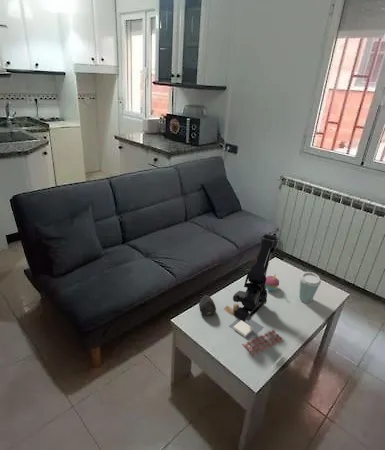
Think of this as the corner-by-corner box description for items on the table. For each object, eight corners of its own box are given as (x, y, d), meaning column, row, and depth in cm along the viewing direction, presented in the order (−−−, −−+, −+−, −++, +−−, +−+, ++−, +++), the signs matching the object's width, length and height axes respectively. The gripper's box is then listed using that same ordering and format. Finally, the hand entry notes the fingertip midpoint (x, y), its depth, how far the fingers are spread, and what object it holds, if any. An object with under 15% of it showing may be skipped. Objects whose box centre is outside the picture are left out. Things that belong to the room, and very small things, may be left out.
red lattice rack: (240, 346, 137) (241, 343, 136) (272, 331, 146) (272, 328, 145) (251, 358, 132) (251, 355, 131) (283, 342, 141) (284, 339, 140)
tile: (241, 320, 148) (233, 326, 144) (253, 328, 144) (245, 334, 140) (240, 322, 149) (233, 328, 145) (252, 330, 145) (245, 337, 141)
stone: (212, 315, 156) (213, 295, 158) (218, 317, 149) (219, 296, 151) (197, 315, 154) (198, 294, 155) (202, 316, 146) (204, 295, 148)
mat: (243, 314, 155) (243, 313, 154) (263, 328, 147) (263, 327, 147) (228, 327, 147) (228, 326, 146) (249, 341, 139) (249, 340, 139)
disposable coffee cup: (315, 308, 162) (322, 285, 155) (294, 302, 165) (300, 280, 158) (314, 295, 171) (321, 273, 164) (294, 290, 174) (300, 269, 167)
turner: (227, 306, 159) (228, 297, 157) (239, 314, 155) (240, 304, 152) (222, 310, 157) (223, 300, 154) (234, 318, 152) (236, 308, 150)
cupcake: (280, 291, 173) (285, 273, 167) (268, 294, 170) (271, 276, 164) (272, 282, 180) (275, 265, 174) (259, 284, 177) (263, 267, 171)
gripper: (249, 277, 149) (245, 302, 156) (226, 294, 137) (222, 320, 144) (269, 288, 142) (264, 313, 150) (246, 307, 130) (241, 334, 137)
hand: (248, 320), depth 145 cm, fingers closed
